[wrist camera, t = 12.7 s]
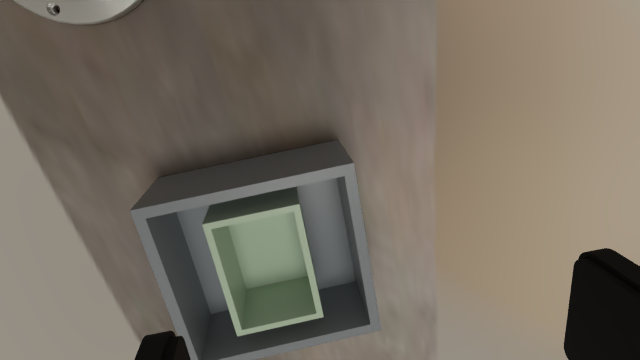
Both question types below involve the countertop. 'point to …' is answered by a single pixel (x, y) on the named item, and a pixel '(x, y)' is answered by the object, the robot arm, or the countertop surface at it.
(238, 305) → the small crate
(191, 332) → the big crate
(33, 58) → the countertop surface
